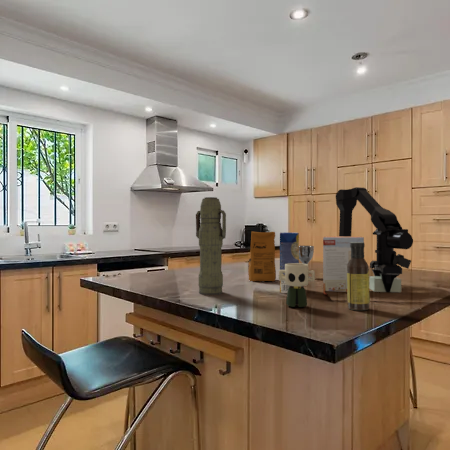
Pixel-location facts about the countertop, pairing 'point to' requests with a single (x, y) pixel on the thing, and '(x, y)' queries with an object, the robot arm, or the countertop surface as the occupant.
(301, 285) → the toy figurine
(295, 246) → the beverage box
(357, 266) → the sauce bottle
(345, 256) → the cracker box
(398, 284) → the sage cover
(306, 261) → the wine glass
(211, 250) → the thermos
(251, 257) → the coffee package
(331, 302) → the countertop surface
